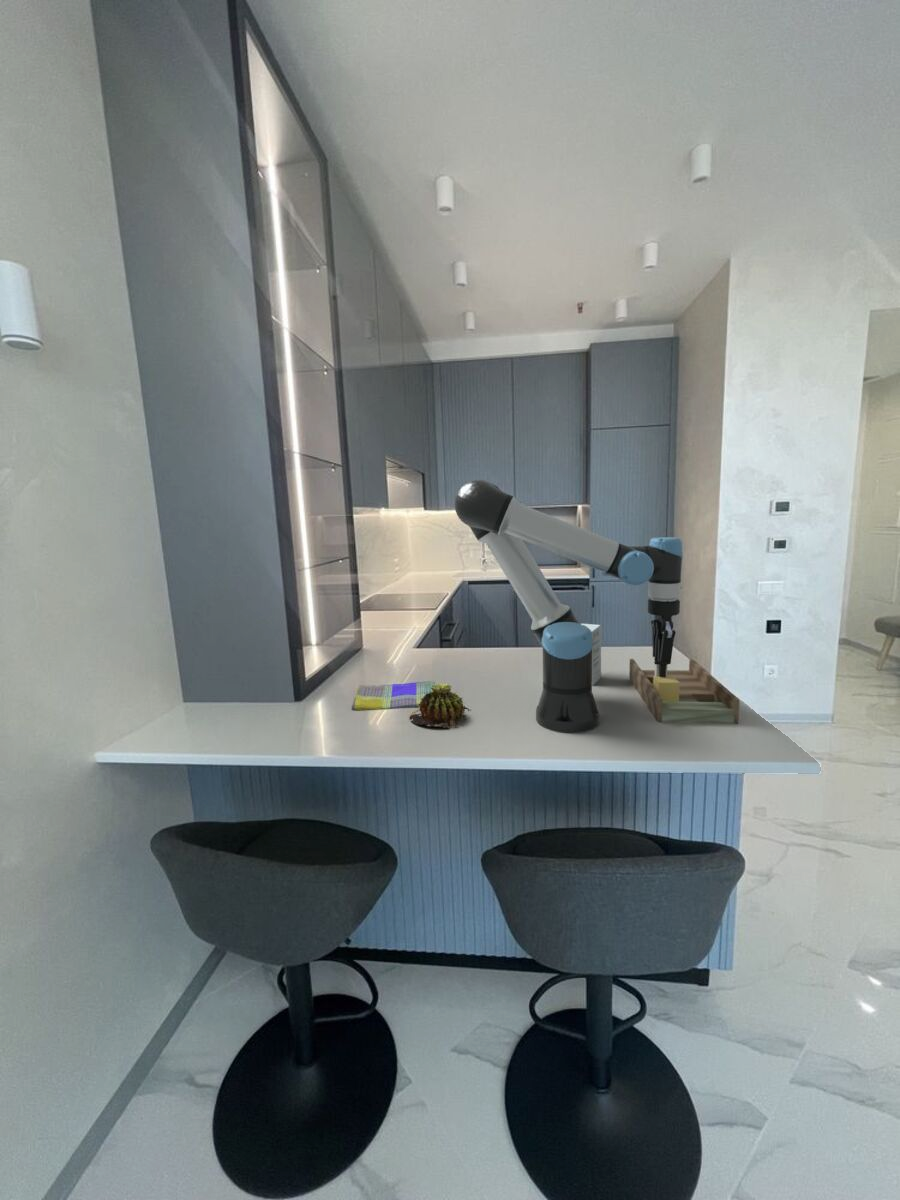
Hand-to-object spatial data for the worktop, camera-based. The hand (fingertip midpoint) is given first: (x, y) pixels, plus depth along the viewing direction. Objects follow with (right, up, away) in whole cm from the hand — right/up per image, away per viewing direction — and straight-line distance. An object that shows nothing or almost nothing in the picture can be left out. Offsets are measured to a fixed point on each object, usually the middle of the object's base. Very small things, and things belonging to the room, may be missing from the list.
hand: (660, 686), depth 132 cm
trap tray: (+6, -4, +3) cm, 8 cm away
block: (0, -2, -3) cm, 4 cm away
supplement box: (-15, -2, +22) cm, 27 cm away
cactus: (-57, -8, -3) cm, 58 cm away
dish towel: (-71, -6, +13) cm, 72 cm away
